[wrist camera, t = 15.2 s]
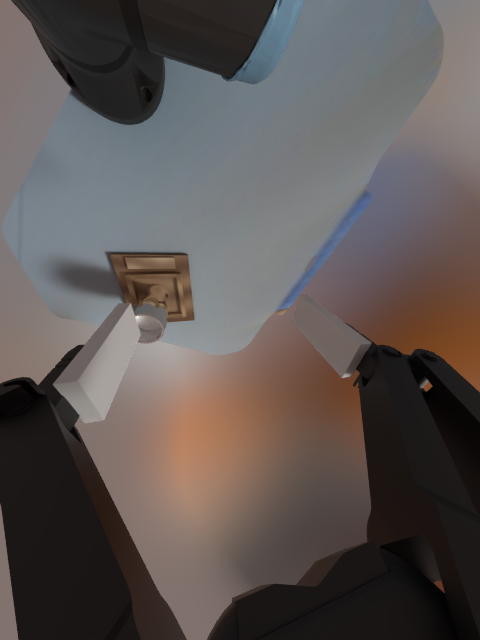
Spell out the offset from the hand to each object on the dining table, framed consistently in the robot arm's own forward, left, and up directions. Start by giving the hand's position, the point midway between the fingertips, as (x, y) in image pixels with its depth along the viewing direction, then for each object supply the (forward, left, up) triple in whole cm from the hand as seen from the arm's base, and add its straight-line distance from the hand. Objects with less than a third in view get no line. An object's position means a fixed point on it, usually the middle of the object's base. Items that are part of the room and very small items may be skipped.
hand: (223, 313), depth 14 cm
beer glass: (+12, -12, -32) cm, 36 cm away
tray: (+11, -12, -33) cm, 37 cm away
